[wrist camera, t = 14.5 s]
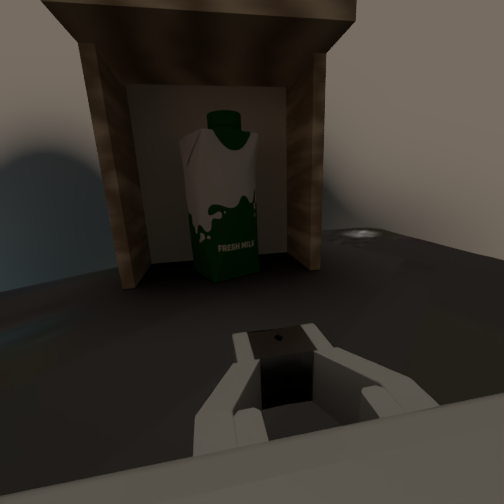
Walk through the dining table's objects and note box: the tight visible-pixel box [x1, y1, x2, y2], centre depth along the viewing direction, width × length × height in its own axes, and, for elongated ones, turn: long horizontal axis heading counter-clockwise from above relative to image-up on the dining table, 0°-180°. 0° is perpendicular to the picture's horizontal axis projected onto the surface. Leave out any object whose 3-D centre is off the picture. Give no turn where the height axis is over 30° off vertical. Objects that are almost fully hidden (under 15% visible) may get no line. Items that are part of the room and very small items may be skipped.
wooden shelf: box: [41, 0, 357, 289], centre depth 33 cm, size 26×18×28 cm
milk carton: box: [179, 110, 260, 283], centre depth 35 cm, size 9×9×20 cm
